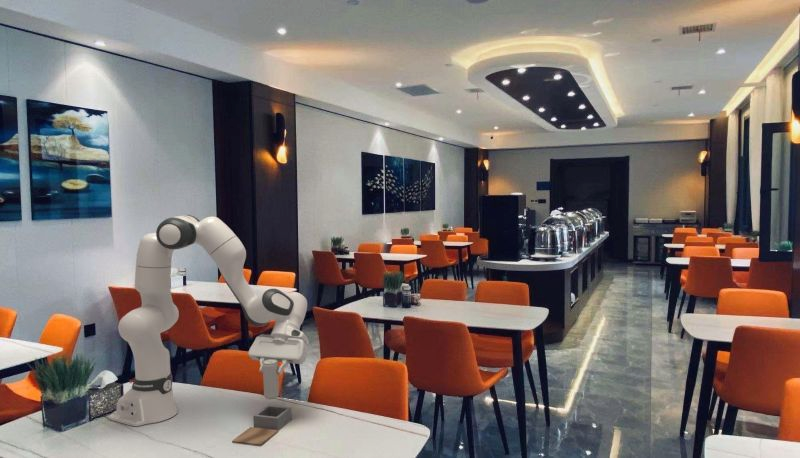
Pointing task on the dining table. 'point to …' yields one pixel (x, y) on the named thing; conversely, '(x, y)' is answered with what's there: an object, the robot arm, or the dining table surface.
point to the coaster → (255, 436)
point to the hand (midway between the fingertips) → (270, 372)
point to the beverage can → (270, 379)
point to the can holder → (272, 417)
